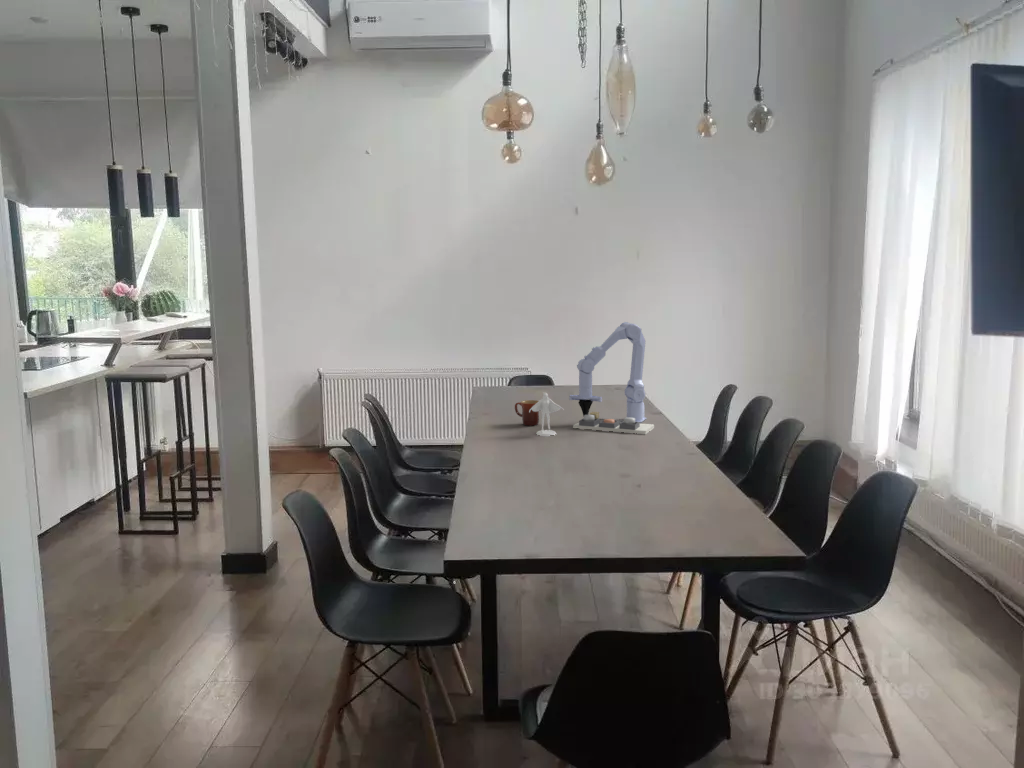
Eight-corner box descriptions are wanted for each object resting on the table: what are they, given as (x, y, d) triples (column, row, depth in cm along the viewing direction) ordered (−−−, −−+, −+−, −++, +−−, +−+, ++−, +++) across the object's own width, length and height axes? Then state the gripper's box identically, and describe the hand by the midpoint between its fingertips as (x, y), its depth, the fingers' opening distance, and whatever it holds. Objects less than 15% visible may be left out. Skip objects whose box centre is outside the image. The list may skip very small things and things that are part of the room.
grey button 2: (625, 422, 344) (625, 416, 343) (636, 423, 342) (636, 417, 341) (622, 424, 340) (622, 419, 339) (633, 425, 338) (633, 419, 337)
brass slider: (592, 419, 357) (592, 411, 356) (599, 420, 356) (599, 412, 355) (589, 421, 353) (589, 413, 353) (596, 421, 352) (596, 413, 352)
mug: (543, 423, 359) (543, 400, 357) (535, 427, 351) (534, 404, 350) (519, 421, 365) (519, 399, 363) (510, 425, 357) (510, 402, 355)
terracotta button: (605, 424, 348) (605, 418, 347) (615, 425, 346) (616, 419, 345) (602, 426, 343) (602, 420, 343) (612, 427, 342) (612, 421, 341)
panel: (583, 422, 360) (583, 414, 359) (654, 427, 347) (654, 419, 346) (573, 428, 348) (573, 420, 347) (645, 434, 334) (645, 426, 334)
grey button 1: (585, 419, 351) (585, 414, 351) (595, 420, 349) (595, 414, 349) (582, 421, 347) (582, 416, 347) (592, 422, 345) (592, 416, 345)
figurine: (529, 436, 334) (528, 393, 331) (530, 430, 345) (529, 389, 342) (564, 436, 334) (563, 393, 331) (563, 430, 344) (563, 389, 341)
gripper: (566, 386, 353) (567, 417, 355) (598, 388, 347) (598, 419, 349) (572, 384, 360) (572, 414, 362) (603, 386, 354) (603, 416, 356)
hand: (585, 416), depth 356 cm, fingers closed
